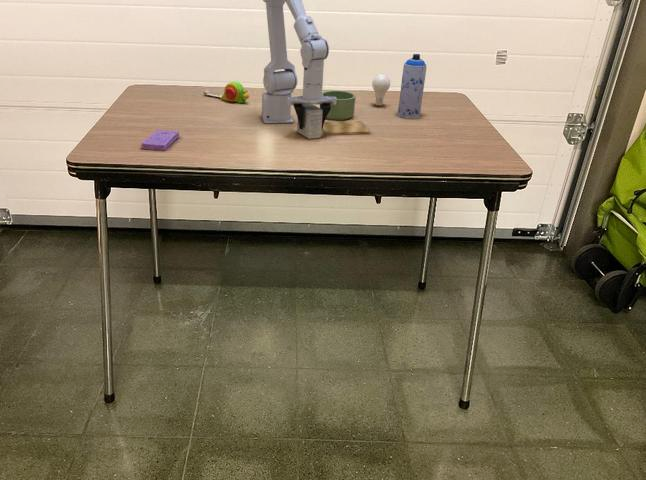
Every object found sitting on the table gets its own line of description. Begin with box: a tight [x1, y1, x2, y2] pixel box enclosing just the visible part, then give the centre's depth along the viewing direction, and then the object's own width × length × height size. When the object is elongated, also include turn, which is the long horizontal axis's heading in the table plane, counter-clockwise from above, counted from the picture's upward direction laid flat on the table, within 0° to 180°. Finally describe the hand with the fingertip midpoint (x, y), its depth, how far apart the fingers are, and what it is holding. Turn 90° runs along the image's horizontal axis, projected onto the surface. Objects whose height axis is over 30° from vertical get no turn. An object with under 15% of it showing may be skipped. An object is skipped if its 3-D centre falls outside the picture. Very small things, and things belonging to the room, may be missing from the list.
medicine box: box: [296, 104, 323, 140], centre depth 185 cm, size 8×4×9 cm, turn 26°
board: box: [321, 120, 371, 136], centre depth 193 cm, size 14×11×1 cm
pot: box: [322, 90, 357, 121], centre depth 204 cm, size 11×11×7 cm
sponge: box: [141, 129, 180, 151], centre depth 177 cm, size 7×13×2 cm, turn 170°
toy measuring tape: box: [203, 80, 250, 104], centre depth 218 cm, size 6×19×7 cm, turn 57°
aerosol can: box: [396, 53, 427, 120], centre depth 203 cm, size 8×8×20 cm
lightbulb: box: [371, 73, 391, 107], centre depth 215 cm, size 6×6×11 cm
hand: (310, 128), depth 185 cm, fingers closed on medicine box, 5 cm apart
